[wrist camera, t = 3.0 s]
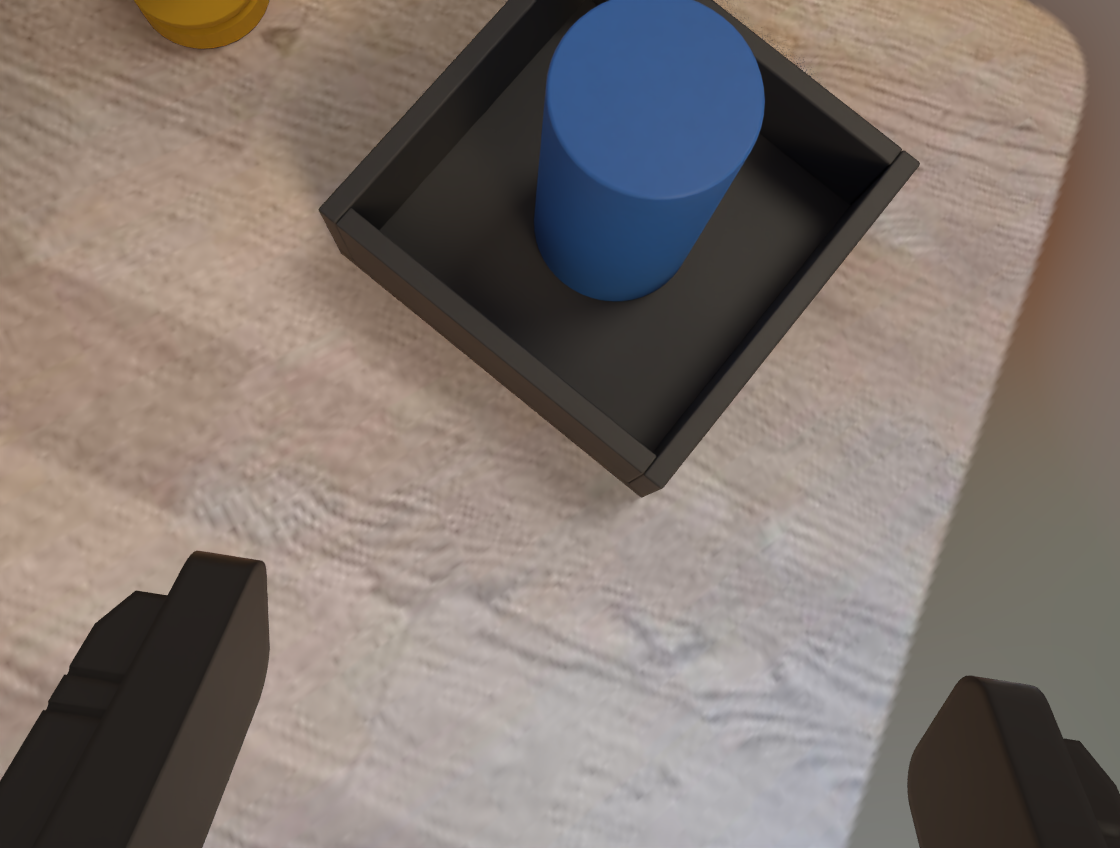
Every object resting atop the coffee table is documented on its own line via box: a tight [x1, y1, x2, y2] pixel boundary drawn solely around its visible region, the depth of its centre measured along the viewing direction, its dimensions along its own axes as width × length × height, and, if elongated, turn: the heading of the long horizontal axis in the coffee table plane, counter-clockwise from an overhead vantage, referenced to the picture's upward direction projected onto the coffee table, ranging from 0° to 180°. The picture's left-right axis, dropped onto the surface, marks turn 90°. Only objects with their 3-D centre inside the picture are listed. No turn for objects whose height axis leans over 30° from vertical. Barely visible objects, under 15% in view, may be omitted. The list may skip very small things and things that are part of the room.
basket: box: [319, 0, 920, 497], centre depth 27 cm, size 11×11×4 cm
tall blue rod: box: [534, 0, 765, 301], centre depth 24 cm, size 5×5×8 cm
